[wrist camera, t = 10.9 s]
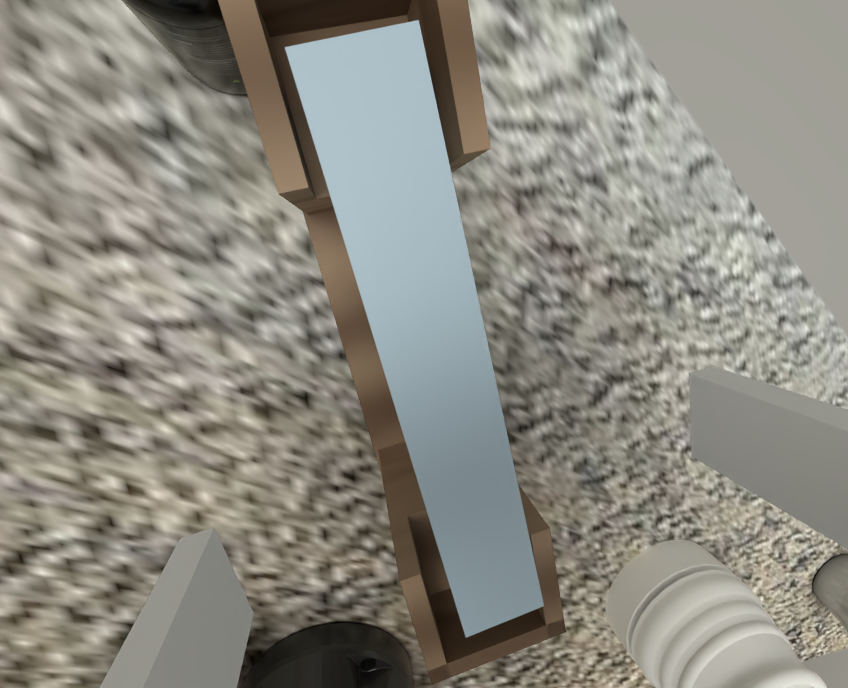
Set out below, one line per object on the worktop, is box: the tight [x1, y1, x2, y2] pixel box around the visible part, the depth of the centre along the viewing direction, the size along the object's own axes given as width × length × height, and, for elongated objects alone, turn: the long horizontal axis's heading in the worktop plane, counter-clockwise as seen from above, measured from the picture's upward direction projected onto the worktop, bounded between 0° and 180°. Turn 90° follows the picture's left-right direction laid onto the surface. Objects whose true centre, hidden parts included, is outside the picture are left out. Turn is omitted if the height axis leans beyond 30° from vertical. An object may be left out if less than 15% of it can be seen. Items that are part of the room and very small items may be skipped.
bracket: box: [218, 0, 566, 684], centre depth 22 cm, size 31×8×13 cm, turn 13°
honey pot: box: [605, 539, 827, 688], centre depth 33 cm, size 13×13×18 cm
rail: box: [285, 20, 544, 638], centre depth 17 cm, size 24×4×5 cm, turn 15°
